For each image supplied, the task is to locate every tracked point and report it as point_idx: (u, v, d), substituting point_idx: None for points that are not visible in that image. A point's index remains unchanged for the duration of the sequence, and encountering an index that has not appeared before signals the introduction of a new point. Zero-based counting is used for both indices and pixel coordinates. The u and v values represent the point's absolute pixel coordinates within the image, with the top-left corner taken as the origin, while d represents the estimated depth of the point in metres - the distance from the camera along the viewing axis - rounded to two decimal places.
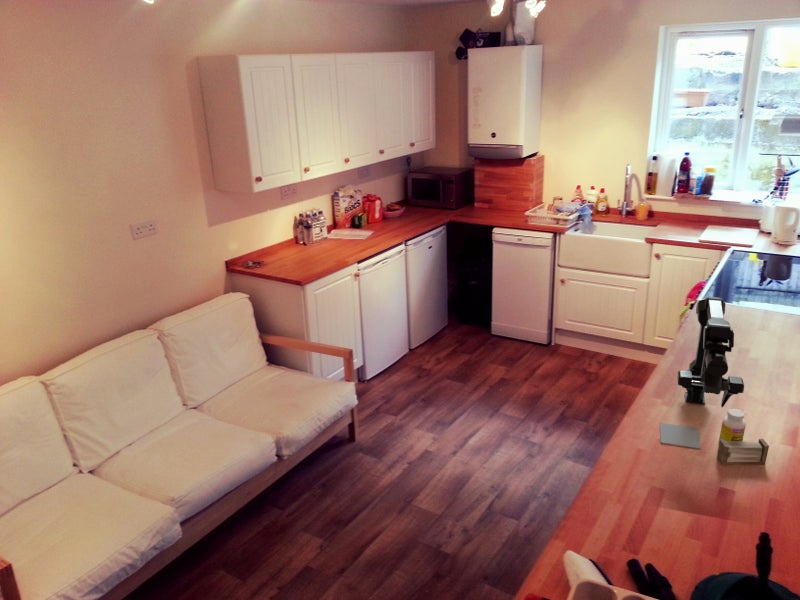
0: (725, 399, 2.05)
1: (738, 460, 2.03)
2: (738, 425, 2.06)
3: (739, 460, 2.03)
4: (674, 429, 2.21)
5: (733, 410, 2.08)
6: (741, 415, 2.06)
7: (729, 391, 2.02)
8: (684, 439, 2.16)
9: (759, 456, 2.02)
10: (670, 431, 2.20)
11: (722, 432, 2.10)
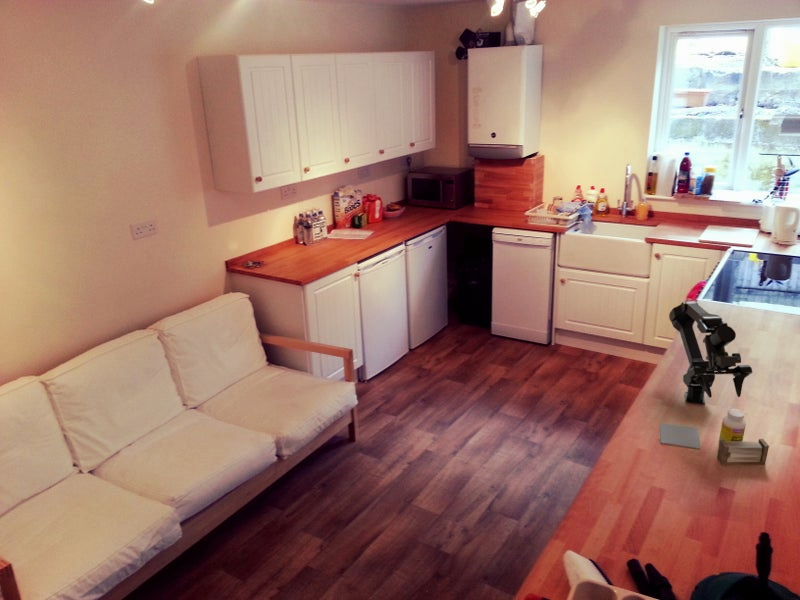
0: (740, 385, 2.14)
1: (738, 460, 2.03)
2: (738, 425, 2.06)
3: (739, 460, 2.03)
4: (674, 429, 2.21)
5: (733, 410, 2.08)
6: (741, 415, 2.06)
7: None
8: (684, 439, 2.16)
9: (759, 456, 2.02)
10: (670, 431, 2.20)
11: (722, 432, 2.10)
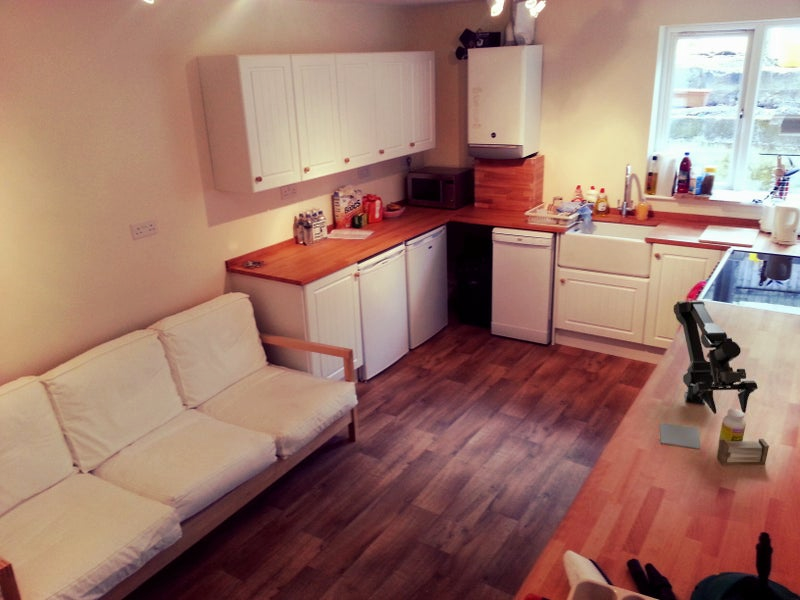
0: (745, 401, 2.11)
1: (738, 460, 2.03)
2: (738, 425, 2.06)
3: (739, 460, 2.03)
4: (674, 429, 2.21)
5: (733, 410, 2.08)
6: (741, 415, 2.06)
7: None
8: (684, 439, 2.16)
9: (759, 456, 2.02)
10: (670, 431, 2.20)
11: (722, 432, 2.10)
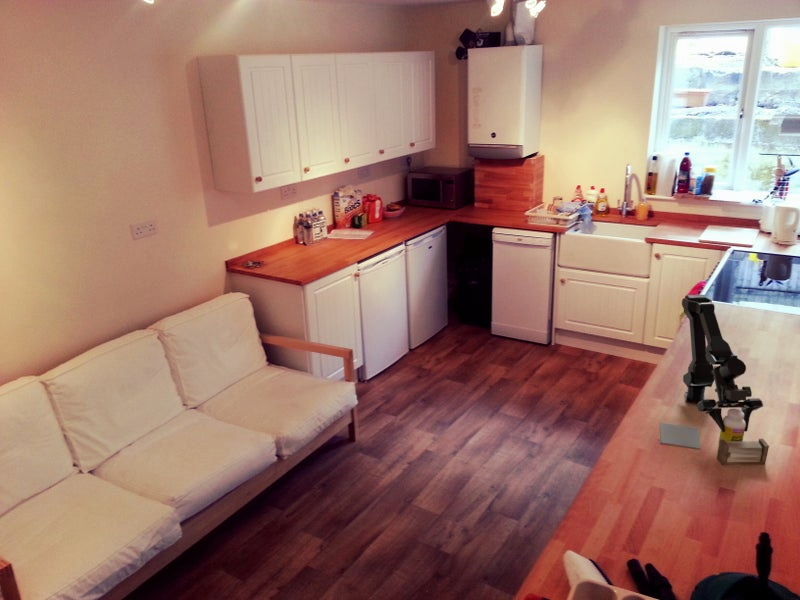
0: (746, 420, 2.08)
1: (738, 460, 2.03)
2: (738, 425, 2.06)
3: (739, 460, 2.03)
4: (674, 429, 2.21)
5: (733, 410, 2.08)
6: (741, 415, 2.06)
7: None
8: (684, 439, 2.16)
9: (759, 456, 2.02)
10: (670, 431, 2.20)
11: (722, 432, 2.10)
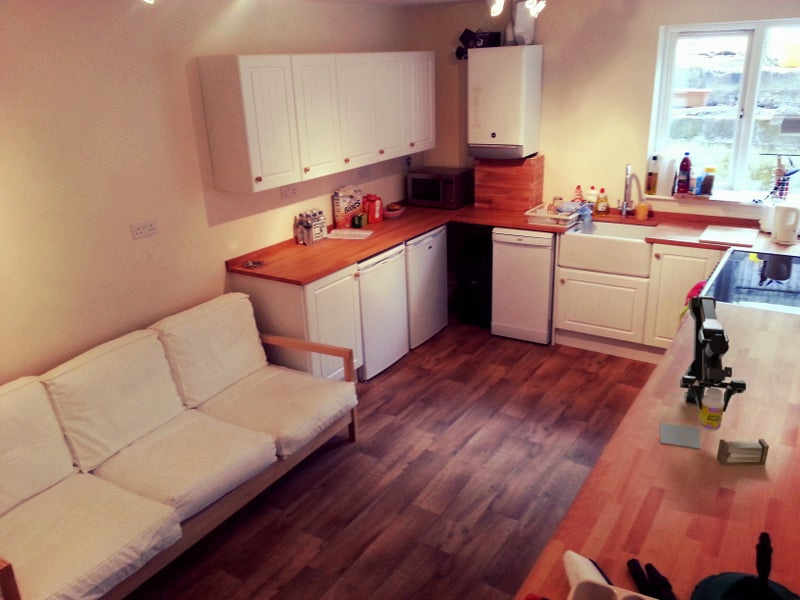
0: (726, 400, 2.07)
1: (738, 460, 2.03)
2: (714, 404, 2.05)
3: (739, 460, 2.03)
4: (674, 429, 2.21)
5: (713, 389, 2.08)
6: (718, 394, 2.05)
7: None
8: (684, 439, 2.16)
9: (759, 456, 2.02)
10: (670, 431, 2.20)
11: (700, 410, 2.10)
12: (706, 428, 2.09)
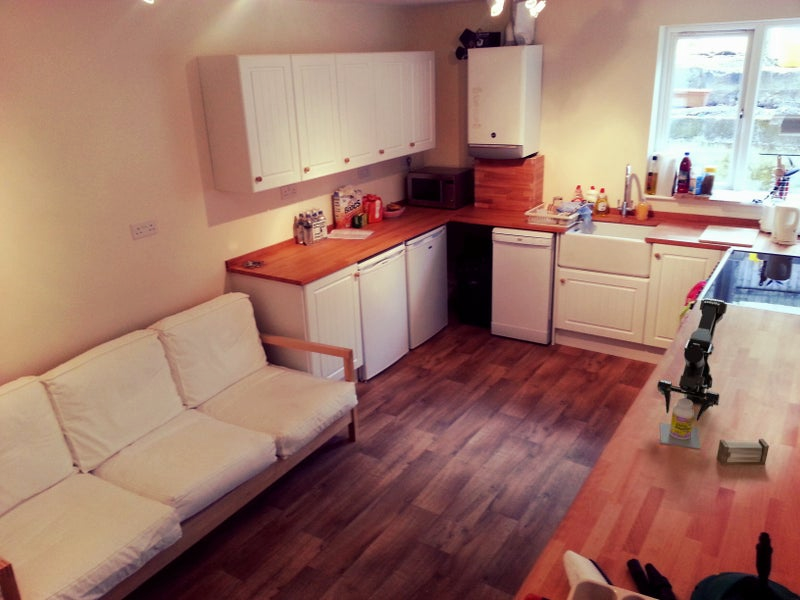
0: (700, 410, 2.12)
1: (738, 460, 2.03)
2: (682, 413, 2.12)
3: (739, 460, 2.03)
4: None
5: (685, 400, 2.14)
6: (687, 405, 2.11)
7: None
8: None
9: (759, 456, 2.02)
10: None
11: None
12: (674, 436, 2.16)
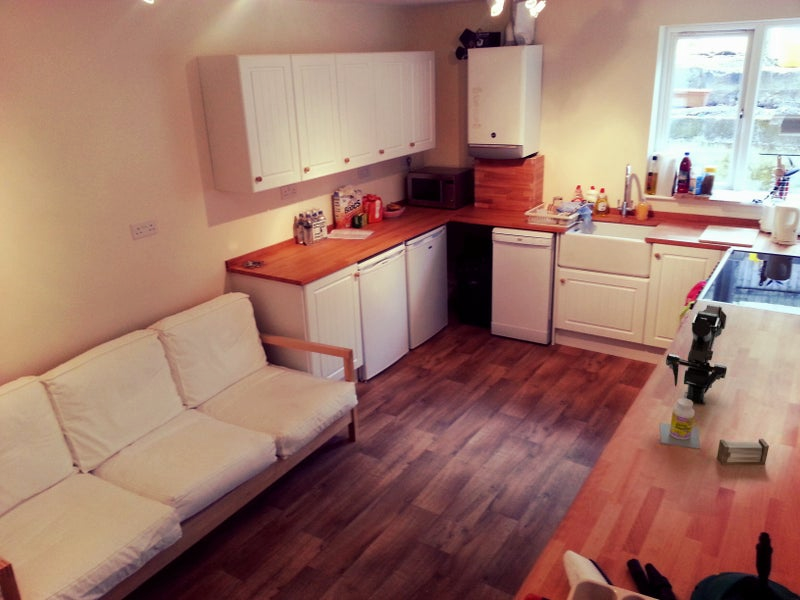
0: (708, 383, 2.17)
1: (738, 460, 2.03)
2: (682, 413, 2.12)
3: (739, 460, 2.03)
4: None
5: (685, 399, 2.14)
6: (687, 405, 2.12)
7: None
8: None
9: (759, 456, 2.02)
10: None
11: None
12: (674, 436, 2.16)
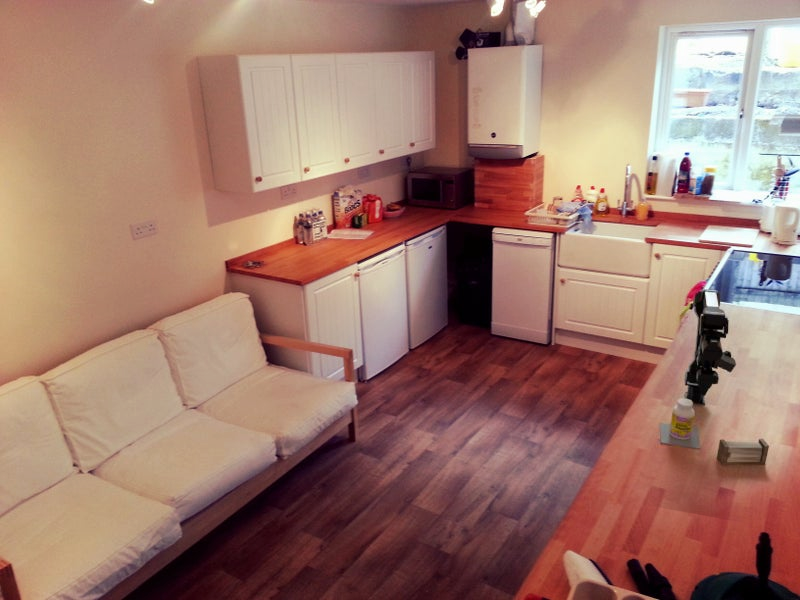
0: None
1: (738, 460, 2.03)
2: (682, 413, 2.12)
3: (739, 460, 2.03)
4: None
5: (685, 399, 2.14)
6: (687, 405, 2.12)
7: None
8: None
9: (759, 456, 2.02)
10: None
11: None
12: (674, 436, 2.16)
